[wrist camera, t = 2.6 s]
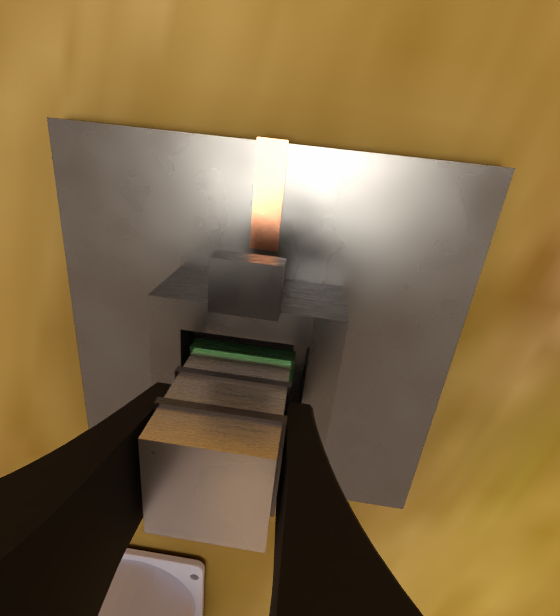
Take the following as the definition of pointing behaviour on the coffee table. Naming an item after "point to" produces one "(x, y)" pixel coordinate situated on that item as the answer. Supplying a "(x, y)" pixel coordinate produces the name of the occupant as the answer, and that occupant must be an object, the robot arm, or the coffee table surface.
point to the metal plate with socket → (277, 274)
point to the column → (218, 443)
